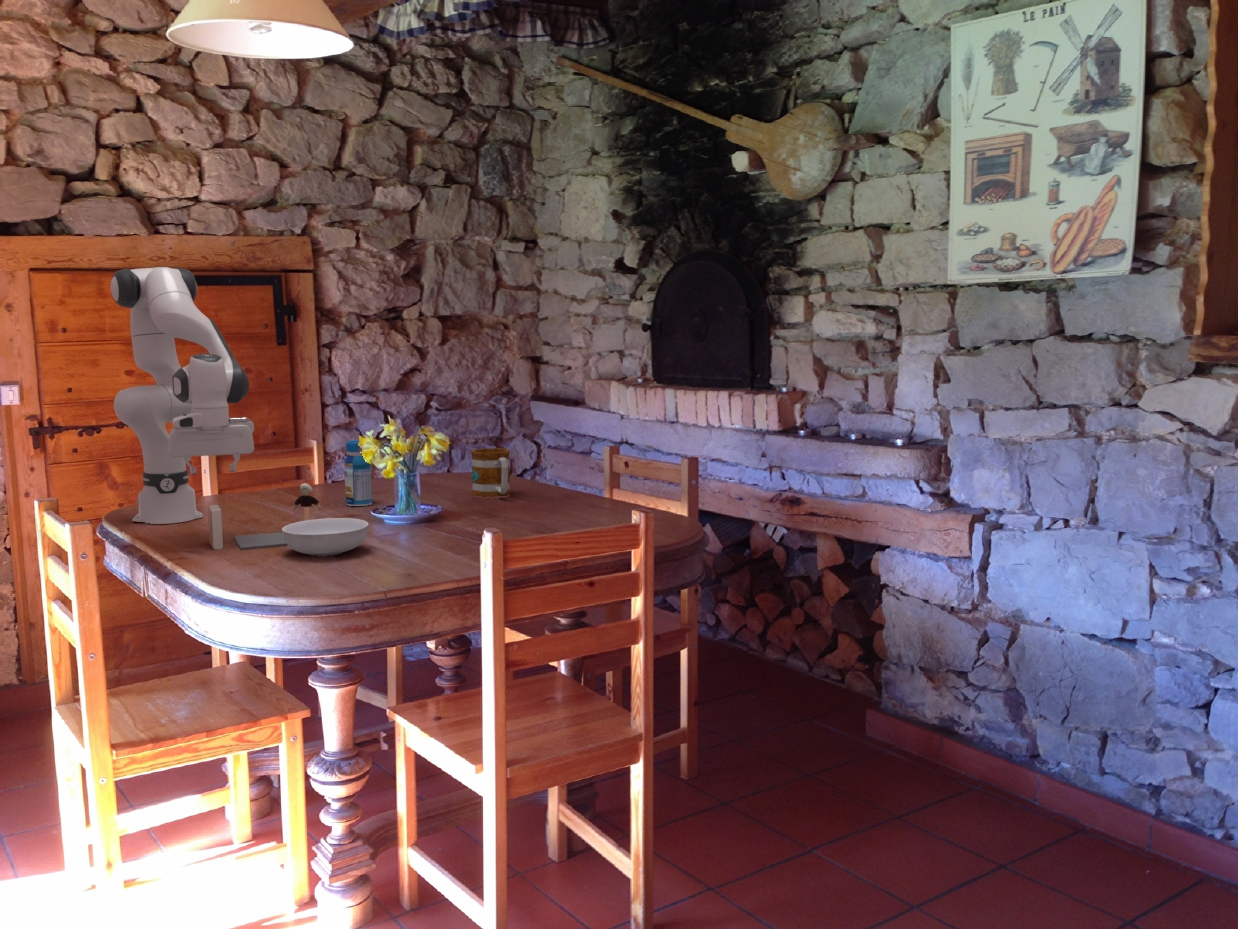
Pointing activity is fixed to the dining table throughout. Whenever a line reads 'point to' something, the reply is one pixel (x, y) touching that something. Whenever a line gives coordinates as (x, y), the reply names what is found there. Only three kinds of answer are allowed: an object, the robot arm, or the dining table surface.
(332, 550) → the serving bowl
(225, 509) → the dining table surface
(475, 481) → the mug
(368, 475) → the beverage bottle
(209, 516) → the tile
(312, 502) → the grandmother figurine
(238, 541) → the mat
